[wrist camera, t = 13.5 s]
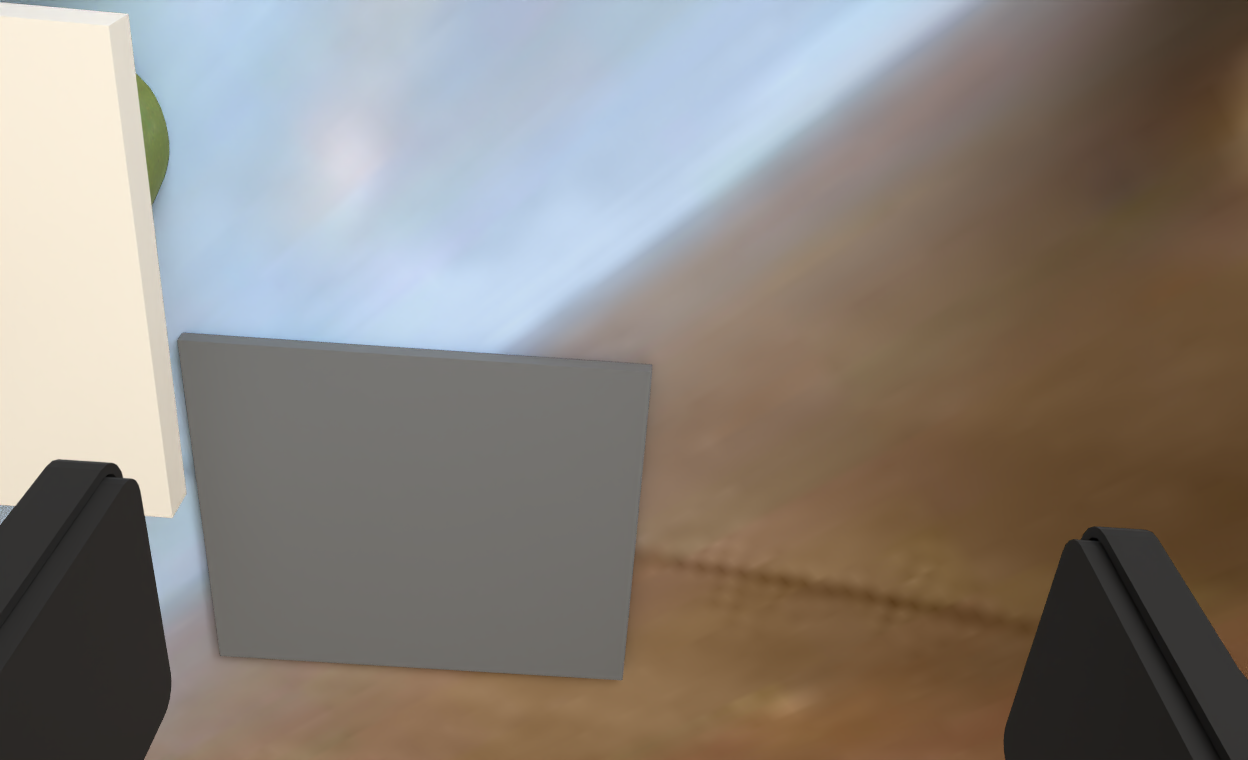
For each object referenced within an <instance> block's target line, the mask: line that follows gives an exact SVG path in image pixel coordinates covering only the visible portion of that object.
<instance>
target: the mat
mask: <svg viewBox="0 0 1248 760" xmlns="http://www.w3.org/2000/svg"><path fill="white" fill-rule="evenodd" d="M177 341H178V349H179V356H180V363H181V371H182V378H183V386H184V393H185V400H186V408H187V415H188V423H189V430H190V437H191V445H192V452H193V460H194V467H195V474H196V482H197V489H198V497H199V504H200V511H201V519H202V526H203V533H204V541H205V548H206V556H207V563H208V570H209V578H210V585H211V593H212V600H213V607H214V615H215V622H216V630H217V637H218V644H219V652H220V656H231V657H248V658H264V659H280V660H297V661H313V662H330V663H346V664H363V665H379V666H396V667H412V668H429V669H445V670H461V671H478V672H494V673H511V674H527V675H544V676H560V677H577V678H593V679H610V680H622V679H623V669H624V658H625V648H626V638H627V627H628V617H629V606H630V596H631V586H632V575H633V565H634V554H635V544H636V534H637V523H638V513H639V502H640V492H641V482H642V471H643V461H644V450H645V440H646V430H647V419H648V409H649V399H650V388H651V378H652V365H651V364H636V363H621V362H606V361H592V360H577V359H562V358H547V357H533V356H518V355H503V354H489V353H474V352H459V351H444V350H430V349H415V348H400V347H385V346H371V345H356V344H341V343H327V342H312V341H297V340H282V339H268V338H253V337H238V336H224V335H209V334H194V333H182V334H181V336H180V337H179V339H178V340H177Z"/></svg>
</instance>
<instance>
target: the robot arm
mask: <svg viewBox="0 0 1248 760" xmlns="http://www.w3.org/2000/svg"><path fill="white" fill-rule="evenodd" d="M170 693H171V672H170V666H169V660H168V654H167V648H166V642H165V636H164V630H163V624H162V618H161V612H160V606H159V600H158V594H157V588H156V582H155V576H154V570H153V563H152V557H151V551H150V545H149V539H148V533H147V527H146V521H145V515H144V509H143V503H142V497H141V491H140V488H139V484H138V483H137V481H136V480H134V479H131V478H123V475H122V471H121V470H120V468H119V467H118V465H116V464H114V463H109V462H94V461H78V460H63V459H57V460H54V461H51V462H50V463H49V464H48V465H47V466H46V467H45V469H44V470H43V471H42V472H41V474H40V475H39V476H38V478H37V479H36V480H35V481H34V483H33V484H32V485H31V487H30V488H29V489H28V490H27V492H26V493H25V494H24V496H23V497H22V498H21V499H20V501H19V502H18V503H17V505H16V506H15V507H14V508H13V510H12V511H11V512H10V514H9V515H8V516H7V517H6V519H5V520H4V521H3V523H2V524H1V525H0V760H144V758H145V756H146V754H147V752H148V750H149V748H150V745H151V743H152V741H153V739H154V737H155V735H156V733H157V731H158V728H159V726H160V724H161V722H162V720H163V718H164V716H165V713H166V710H167V707H168V704H169V700H170ZM1004 753H1005V760H1248V680H1247V678H1246V677H1245V676H1244V675H1243V674H1242V672H1241V671H1240V670H1239V669H1238V667H1237V665H1236V664H1235V662H1234V660H1233V659H1232V657H1231V656H1230V654H1229V652H1228V651H1227V649H1226V648H1225V646H1224V644H1223V643H1222V641H1221V640H1220V638H1219V636H1218V635H1217V633H1216V632H1215V630H1214V628H1213V627H1212V625H1211V623H1210V622H1209V620H1208V619H1207V617H1206V615H1205V614H1204V612H1203V611H1202V609H1201V607H1200V606H1199V604H1198V603H1197V601H1196V599H1195V598H1194V596H1193V595H1192V593H1191V591H1190V590H1189V588H1188V587H1187V585H1186V583H1185V582H1184V580H1183V578H1182V577H1181V575H1180V574H1179V572H1178V570H1177V569H1176V567H1175V566H1174V564H1173V562H1172V561H1171V559H1170V558H1169V556H1168V554H1167V553H1166V551H1165V550H1164V548H1163V546H1162V545H1161V543H1160V542H1159V540H1158V538H1157V537H1156V536H1155V535H1154V534H1153V533H1152V532H1150V531H1148V530H1141V529H1126V528H1110V527H1095V526H1094V527H1091V528H1088V530H1087V531H1086V532H1085V533H1084V534H1083V536H1082V539H1081V540H1076V539H1073V540H1070V541H1069V542H1068V543H1067V544H1066V545H1065V548H1064V550H1063V552H1062V555H1061V558H1060V561H1059V565H1058V568H1057V571H1056V574H1055V577H1054V580H1053V583H1052V586H1051V589H1050V592H1049V595H1048V598H1047V601H1046V604H1045V607H1044V610H1043V613H1042V616H1041V620H1040V623H1039V626H1038V629H1037V632H1036V635H1035V638H1034V641H1033V644H1032V647H1031V650H1030V653H1029V656H1028V659H1027V662H1026V665H1025V668H1024V672H1023V675H1022V678H1021V681H1020V684H1019V687H1018V690H1017V693H1016V696H1015V699H1014V702H1013V705H1012V708H1011V711H1010V714H1009V717H1008V720H1007V723H1006V727H1005V732H1004Z"/></svg>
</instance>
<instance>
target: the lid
mask: <svg viewBox="0 0 1248 760" xmlns="http://www.w3.org/2000/svg"><path fill="white" fill-rule="evenodd" d="M57 459H63V460H78V461H94V462H109V463H114V464H116V465H118V467H119V468H120V470H121V471H122V475H123V478H131V479H134V480H136V481H137V483H138V484H139V488H140V491H141V497H142V503H143V509H144V515H145V516H153V517H167V518H173V516H174V515H175V513H176V511H177V509H178V508H179V506H180V504H181V502H182V501H183V499H184V497H185V495H186V486H185V478H184V469H183V461H182V453H181V445H180V436H179V428H178V420H177V412H176V403H175V395H174V387H173V379H172V370H171V362H170V354H169V345H168V337H167V329H166V321H165V312H164V304H163V296H162V288H161V279H160V271H159V263H158V255H157V246H156V238H155V230H154V222H153V213H152V205H151V197H150V188H149V180H148V172H147V164H146V155H145V147H144V139H143V131H142V122H141V114H140V106H139V98H138V89H137V81H136V73H135V65H134V56H133V48H132V40H131V31H130V23H129V15H128V14H124V13H113V12H102V11H91V10H80V9H69V8H58V7H47V6H36V5H25V4H14V3H3V2H0V505H9V506H16V505H17V503H18V502H19V501H20V499H21V498H22V497H23V496H24V494H25V493H26V492H27V490H28V489H29V488H30V487H31V485H32V484H33V483H34V481H35V480H36V479H37V478H38V476H39V475H40V474H41V472H42V471H43V470H44V469H45V467H46V466H47V465H48V464H49V463H50V462H51V461H54V460H57Z"/></svg>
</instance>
